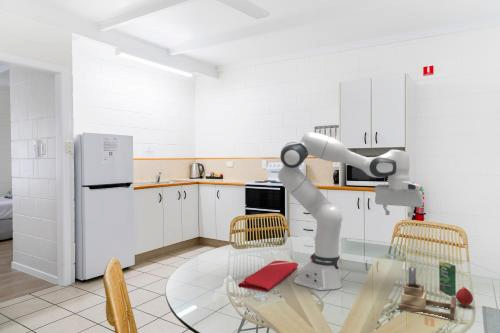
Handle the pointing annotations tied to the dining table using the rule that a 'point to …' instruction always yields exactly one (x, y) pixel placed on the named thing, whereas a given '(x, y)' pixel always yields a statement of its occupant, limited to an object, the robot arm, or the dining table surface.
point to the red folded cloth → (269, 276)
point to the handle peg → (412, 277)
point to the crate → (414, 296)
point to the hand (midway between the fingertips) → (398, 215)
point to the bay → (434, 303)
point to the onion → (464, 296)
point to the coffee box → (447, 278)
